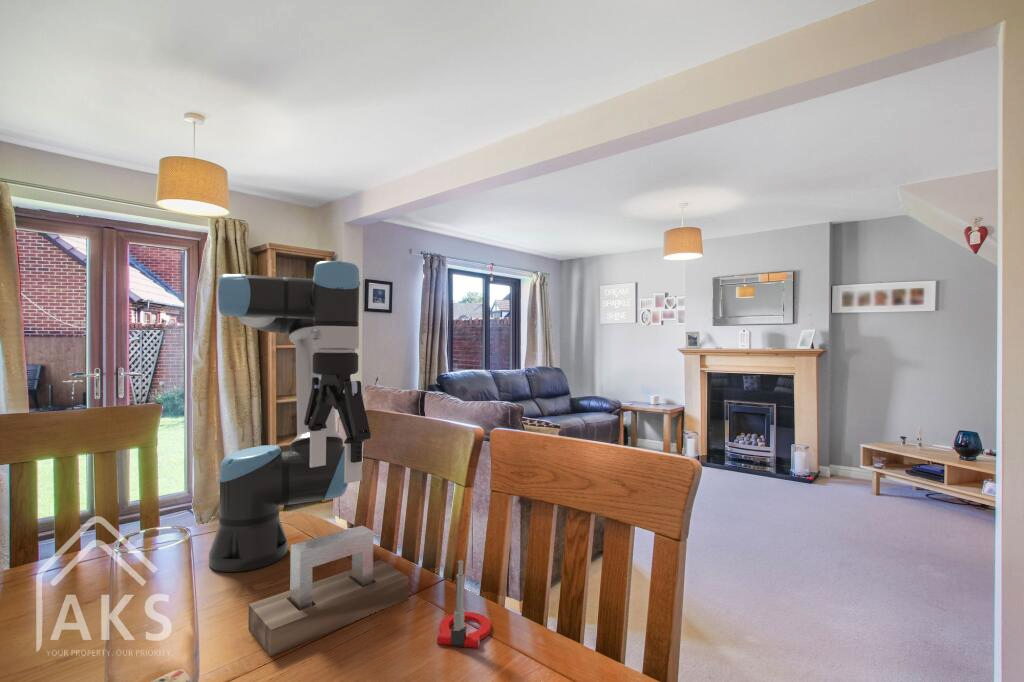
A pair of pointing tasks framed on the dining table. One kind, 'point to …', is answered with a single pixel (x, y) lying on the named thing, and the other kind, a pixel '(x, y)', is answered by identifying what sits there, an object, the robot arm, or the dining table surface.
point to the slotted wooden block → (324, 608)
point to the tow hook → (462, 621)
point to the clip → (329, 550)
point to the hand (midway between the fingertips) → (334, 473)
